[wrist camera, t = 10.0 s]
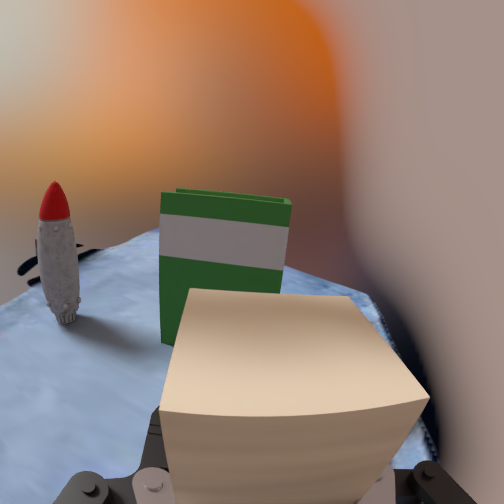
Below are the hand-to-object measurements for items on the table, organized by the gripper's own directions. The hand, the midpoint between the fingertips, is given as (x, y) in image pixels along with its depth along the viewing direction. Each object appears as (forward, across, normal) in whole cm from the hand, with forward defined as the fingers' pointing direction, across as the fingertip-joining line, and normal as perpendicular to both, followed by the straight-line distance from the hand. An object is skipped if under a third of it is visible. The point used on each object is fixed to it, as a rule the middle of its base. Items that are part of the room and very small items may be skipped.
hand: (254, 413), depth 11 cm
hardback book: (+35, -1, -19) cm, 40 cm away
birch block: (-3, 0, -7) cm, 7 cm away
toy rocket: (+36, -30, -19) cm, 51 cm away
